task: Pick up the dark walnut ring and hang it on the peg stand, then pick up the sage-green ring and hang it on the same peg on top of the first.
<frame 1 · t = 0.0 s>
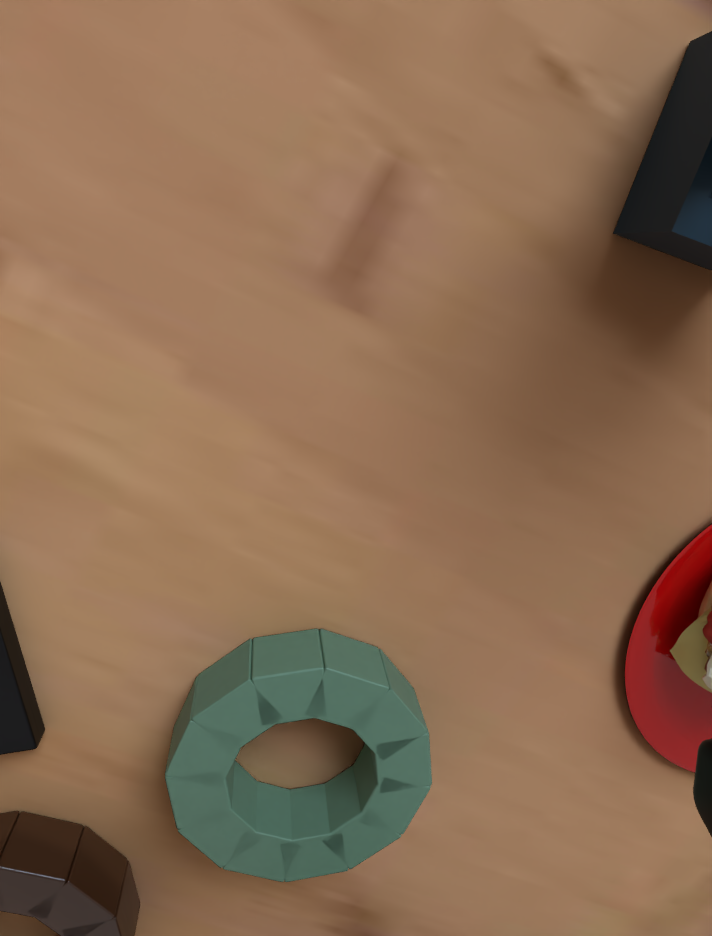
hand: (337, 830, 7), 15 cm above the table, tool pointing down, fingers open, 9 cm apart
watch: (708, 166, 20), on the table
walnut ring: (17, 902, 26), on the table
sage ring: (299, 733, 25), on the table
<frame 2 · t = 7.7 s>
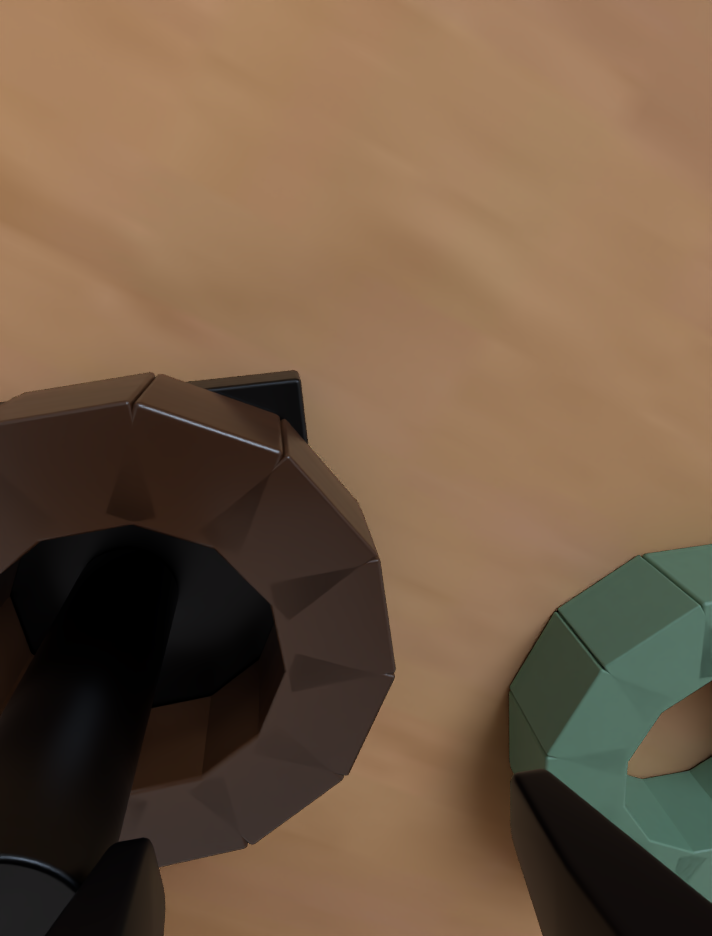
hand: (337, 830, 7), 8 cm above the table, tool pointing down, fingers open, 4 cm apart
walnut ring: (150, 598, 13), point 1 cm above the table, touching peg stand
peg stand: (137, 569, 14), on the table
sage ring: (672, 699, 17), on the table
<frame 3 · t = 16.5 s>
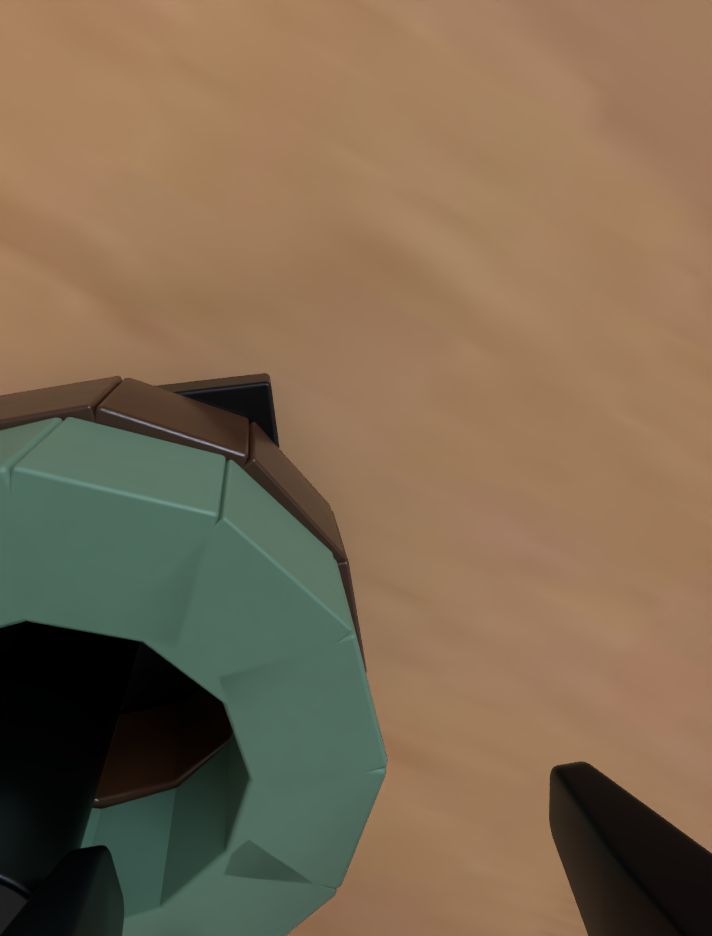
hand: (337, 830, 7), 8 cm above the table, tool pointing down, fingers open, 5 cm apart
walnut ring: (121, 603, 13), point 1 cm above the table, touching peg stand, sage ring
peg stand: (110, 574, 14), on the table
sage ring: (90, 684, 11), point 3 cm above the table, touching walnut ring
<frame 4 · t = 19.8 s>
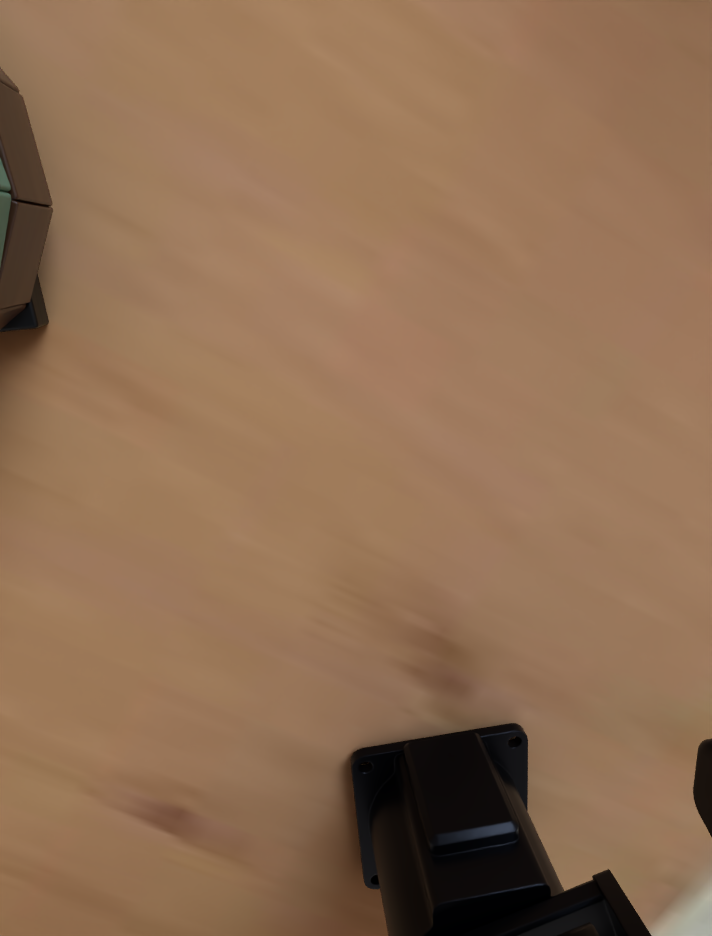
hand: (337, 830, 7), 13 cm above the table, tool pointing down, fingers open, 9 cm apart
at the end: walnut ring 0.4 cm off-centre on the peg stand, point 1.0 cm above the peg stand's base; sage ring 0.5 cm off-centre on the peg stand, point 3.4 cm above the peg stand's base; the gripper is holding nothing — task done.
